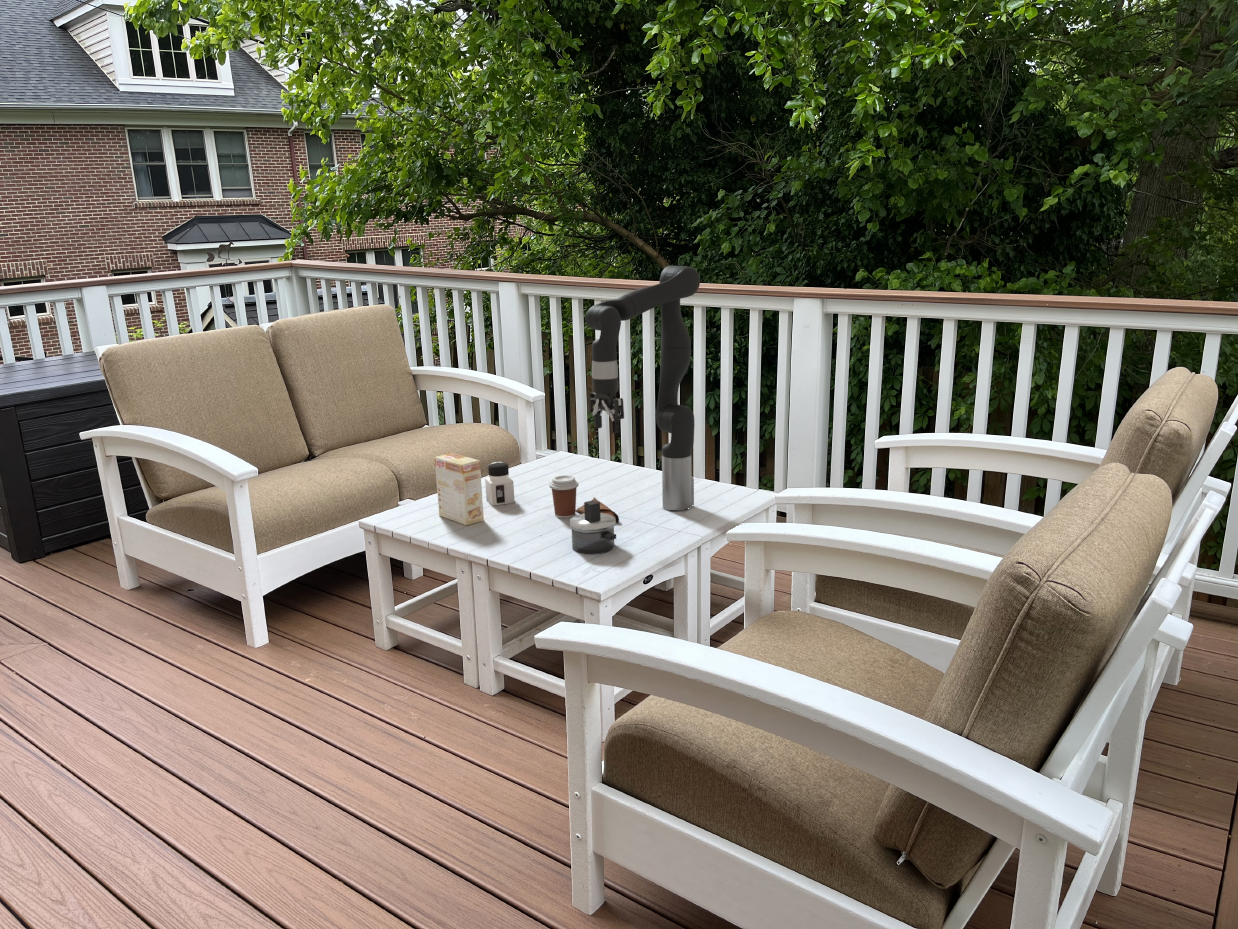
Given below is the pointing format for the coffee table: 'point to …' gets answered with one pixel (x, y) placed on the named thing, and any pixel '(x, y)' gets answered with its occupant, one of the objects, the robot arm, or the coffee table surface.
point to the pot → (593, 541)
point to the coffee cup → (564, 495)
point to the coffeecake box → (459, 488)
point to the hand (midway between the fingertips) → (606, 430)
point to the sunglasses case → (602, 510)
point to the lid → (592, 518)
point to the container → (499, 484)
